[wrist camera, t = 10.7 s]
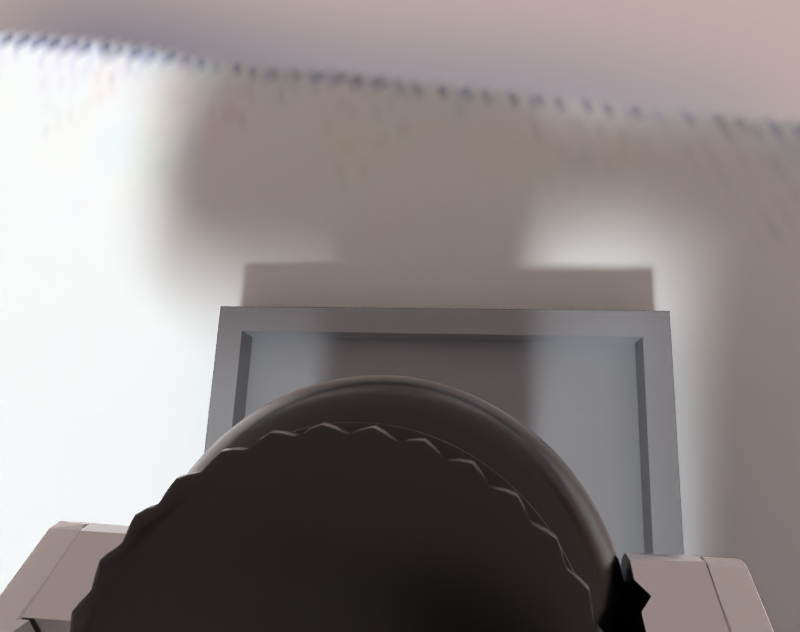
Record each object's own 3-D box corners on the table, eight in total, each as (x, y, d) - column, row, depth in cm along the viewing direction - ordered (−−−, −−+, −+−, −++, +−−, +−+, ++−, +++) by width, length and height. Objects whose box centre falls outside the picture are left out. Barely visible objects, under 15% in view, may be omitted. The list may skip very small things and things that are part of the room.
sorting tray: (193, 771, 20) (165, 799, 18) (240, 319, 23) (220, 306, 21) (680, 822, 18) (701, 860, 16) (653, 324, 21) (669, 310, 19)
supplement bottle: (337, 747, 16) (-1, 1495, 4) (247, 480, 18) (-166, 481, 6) (596, 634, 16) (966, 1057, 4) (480, 380, 18) (523, 191, 6)
